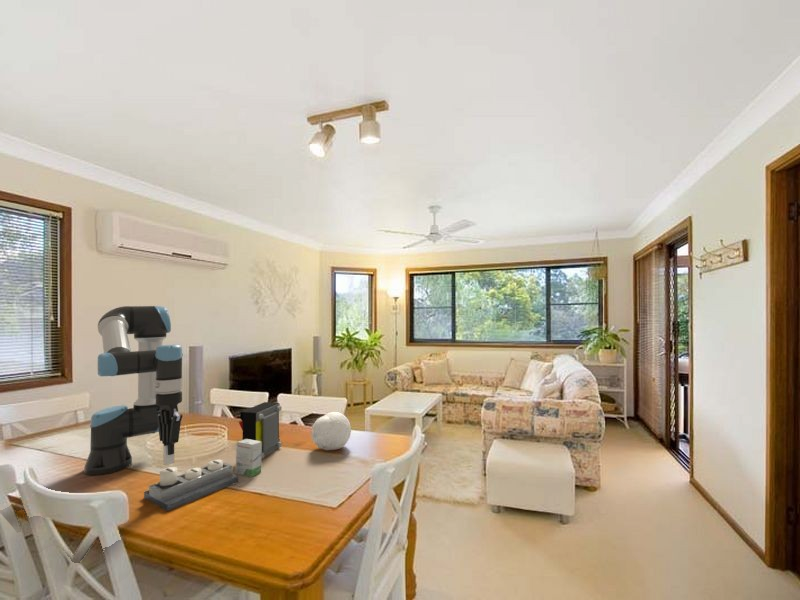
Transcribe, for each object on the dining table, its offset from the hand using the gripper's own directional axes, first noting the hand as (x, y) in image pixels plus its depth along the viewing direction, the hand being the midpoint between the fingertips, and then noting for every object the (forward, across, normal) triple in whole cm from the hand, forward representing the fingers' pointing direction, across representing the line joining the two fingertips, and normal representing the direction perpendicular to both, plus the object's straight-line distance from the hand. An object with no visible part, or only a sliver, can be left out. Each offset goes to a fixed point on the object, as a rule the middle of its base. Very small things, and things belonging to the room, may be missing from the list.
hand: (168, 463), depth 125 cm
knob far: (+9, 0, +16) cm, 18 cm away
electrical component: (+12, -9, +42) cm, 45 cm away
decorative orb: (+12, +14, +62) cm, 65 cm away
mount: (+12, 0, +8) cm, 14 cm away
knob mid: (+9, 0, +8) cm, 12 cm away
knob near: (+6, 0, 0) cm, 6 cm away
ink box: (+12, +4, +27) cm, 30 cm away
